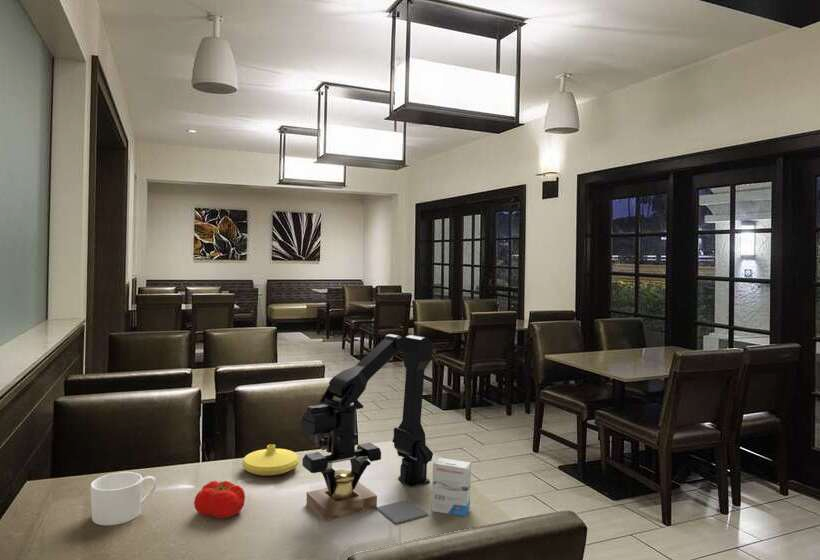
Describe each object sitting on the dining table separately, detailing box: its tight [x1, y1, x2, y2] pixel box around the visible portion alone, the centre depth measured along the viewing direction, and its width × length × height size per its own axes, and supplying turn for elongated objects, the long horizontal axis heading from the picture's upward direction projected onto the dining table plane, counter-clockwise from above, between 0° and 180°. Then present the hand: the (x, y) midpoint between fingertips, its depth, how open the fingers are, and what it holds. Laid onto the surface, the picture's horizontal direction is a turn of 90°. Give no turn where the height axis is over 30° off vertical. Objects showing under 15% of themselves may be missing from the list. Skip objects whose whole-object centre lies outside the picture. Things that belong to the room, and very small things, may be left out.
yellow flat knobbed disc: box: [241, 444, 300, 477], centre depth 157 cm, size 16×16×7 cm
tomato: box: [193, 480, 246, 519], centre depth 131 cm, size 10×11×6 cm
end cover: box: [331, 469, 355, 502], centre depth 136 cm, size 6×6×8 cm
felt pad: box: [375, 498, 429, 525], centre depth 134 cm, size 9×9×1 cm
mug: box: [90, 471, 157, 526], centre depth 128 cm, size 13×10×8 cm
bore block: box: [306, 481, 378, 522], centre depth 136 cm, size 14×10×3 cm
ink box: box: [431, 457, 472, 518], centre depth 136 cm, size 8×5×12 cm, turn 71°
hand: (341, 491), depth 136 cm, fingers closed on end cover, 5 cm apart
